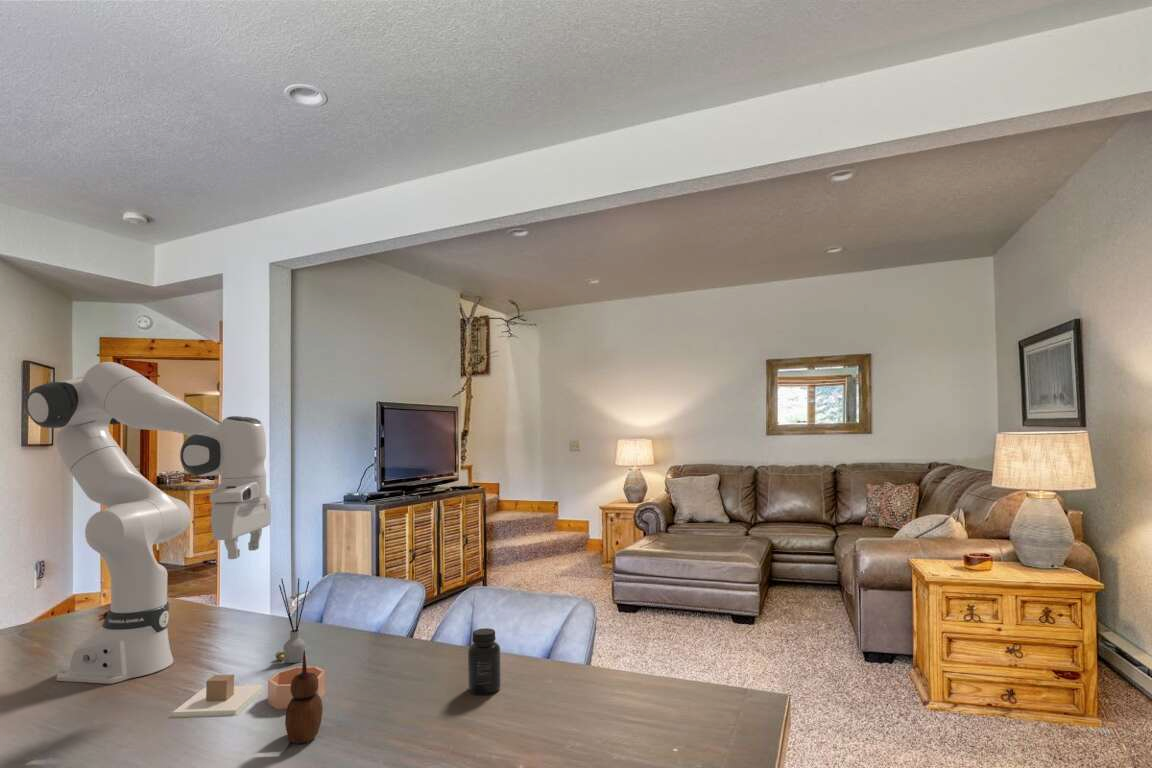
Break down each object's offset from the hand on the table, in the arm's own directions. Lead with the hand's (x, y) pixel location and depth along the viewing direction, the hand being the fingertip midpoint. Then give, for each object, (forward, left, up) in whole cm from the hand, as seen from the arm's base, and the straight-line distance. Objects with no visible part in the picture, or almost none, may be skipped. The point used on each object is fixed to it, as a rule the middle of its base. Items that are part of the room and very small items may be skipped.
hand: (244, 554), depth 140 cm
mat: (-1, -8, -29) cm, 30 cm away
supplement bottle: (+52, -4, -29) cm, 60 cm away
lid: (-1, -8, -28) cm, 29 cm away
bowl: (+14, -7, -29) cm, 33 cm away
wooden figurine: (+22, -23, -29) cm, 43 cm away
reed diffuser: (+4, +14, -29) cm, 32 cm away
